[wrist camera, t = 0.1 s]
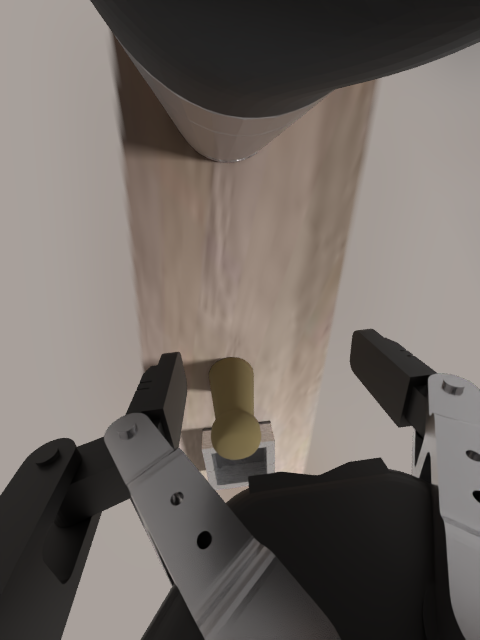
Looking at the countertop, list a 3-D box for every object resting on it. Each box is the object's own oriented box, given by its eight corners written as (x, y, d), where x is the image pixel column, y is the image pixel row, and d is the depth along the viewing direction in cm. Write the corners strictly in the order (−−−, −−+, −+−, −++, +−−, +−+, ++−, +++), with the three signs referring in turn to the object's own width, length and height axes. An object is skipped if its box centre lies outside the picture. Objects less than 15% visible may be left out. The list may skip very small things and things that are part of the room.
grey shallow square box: (202, 428, 39) (201, 449, 36) (270, 421, 39) (274, 440, 36) (211, 469, 44) (210, 490, 41) (270, 462, 44) (274, 482, 41)
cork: (253, 355, 33) (269, 426, 23) (253, 390, 36) (266, 466, 26) (207, 358, 33) (203, 431, 23) (210, 393, 36) (208, 471, 26)
